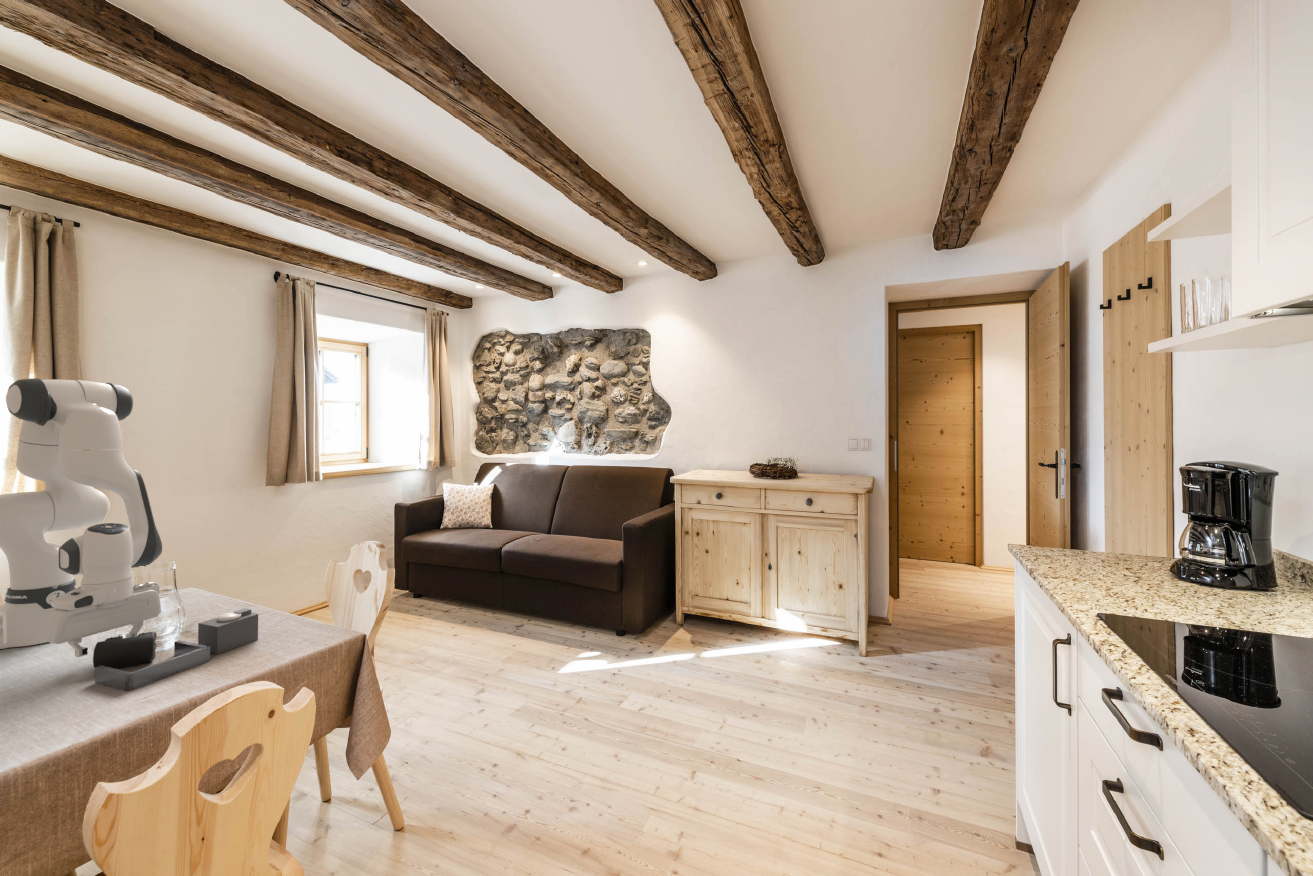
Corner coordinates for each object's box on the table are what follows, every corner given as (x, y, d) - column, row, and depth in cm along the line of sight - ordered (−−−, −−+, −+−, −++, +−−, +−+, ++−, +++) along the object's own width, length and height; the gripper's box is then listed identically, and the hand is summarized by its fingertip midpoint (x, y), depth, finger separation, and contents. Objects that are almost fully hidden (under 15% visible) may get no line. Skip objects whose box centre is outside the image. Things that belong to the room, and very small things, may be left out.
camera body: (197, 650, 134) (198, 619, 134) (239, 636, 143) (239, 607, 143) (217, 654, 132) (217, 623, 132) (257, 639, 141) (258, 610, 141)
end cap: (92, 676, 119) (92, 646, 119) (101, 664, 125) (102, 636, 125) (152, 666, 125) (152, 637, 125) (158, 655, 131) (159, 628, 131)
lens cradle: (95, 682, 116) (95, 667, 116) (178, 654, 132) (179, 640, 132) (127, 691, 113) (128, 675, 113) (209, 660, 128) (210, 646, 128)
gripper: (151, 578, 138) (150, 630, 138) (41, 602, 118) (40, 663, 119) (167, 581, 136) (166, 634, 136) (58, 605, 117) (58, 667, 117)
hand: (107, 648), depth 127 cm, fingers open, 8 cm apart
